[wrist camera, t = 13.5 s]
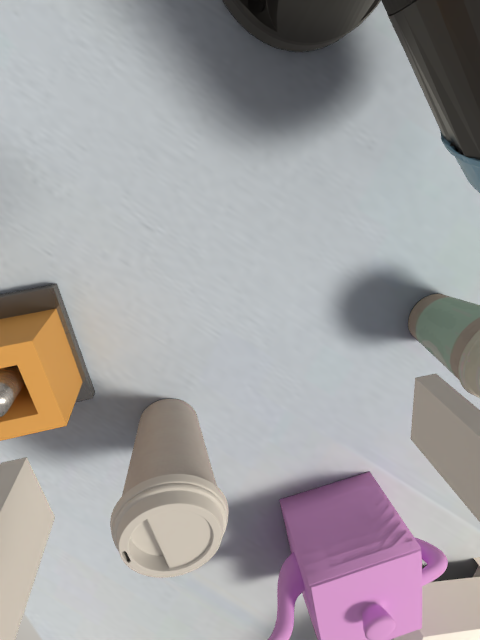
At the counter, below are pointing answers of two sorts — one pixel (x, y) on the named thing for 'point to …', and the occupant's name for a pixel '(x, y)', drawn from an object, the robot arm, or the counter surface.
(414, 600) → the teapot
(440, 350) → the coffee cup
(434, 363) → the counter surface
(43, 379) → the hollow block
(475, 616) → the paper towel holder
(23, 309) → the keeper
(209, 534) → the coffee cup
